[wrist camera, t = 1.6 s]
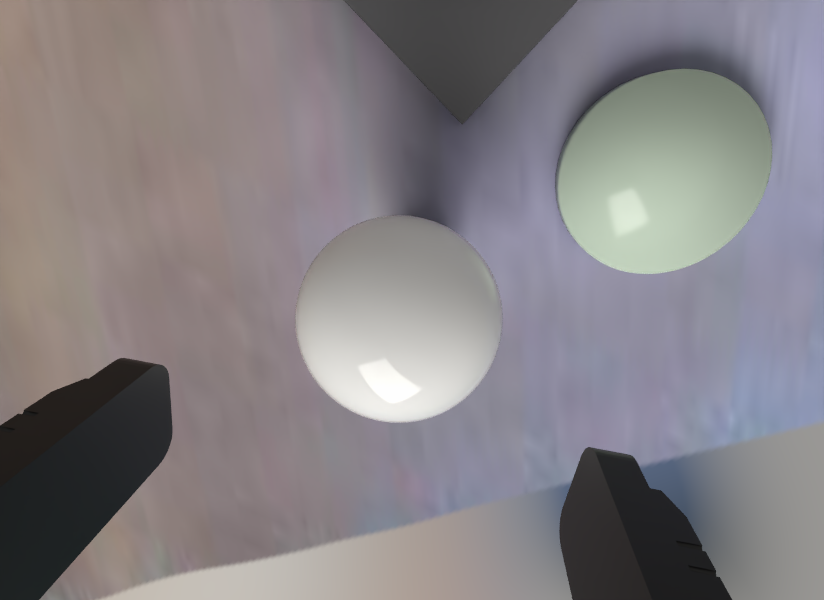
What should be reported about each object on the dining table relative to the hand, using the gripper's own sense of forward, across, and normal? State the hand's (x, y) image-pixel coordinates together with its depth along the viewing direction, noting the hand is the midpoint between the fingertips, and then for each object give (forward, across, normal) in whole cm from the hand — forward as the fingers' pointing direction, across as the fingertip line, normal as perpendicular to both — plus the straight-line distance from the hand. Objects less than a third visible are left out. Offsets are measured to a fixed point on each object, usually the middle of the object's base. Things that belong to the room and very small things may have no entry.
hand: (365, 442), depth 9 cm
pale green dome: (+14, -9, -5) cm, 17 cm away
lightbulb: (+14, 0, 0) cm, 14 cm away
